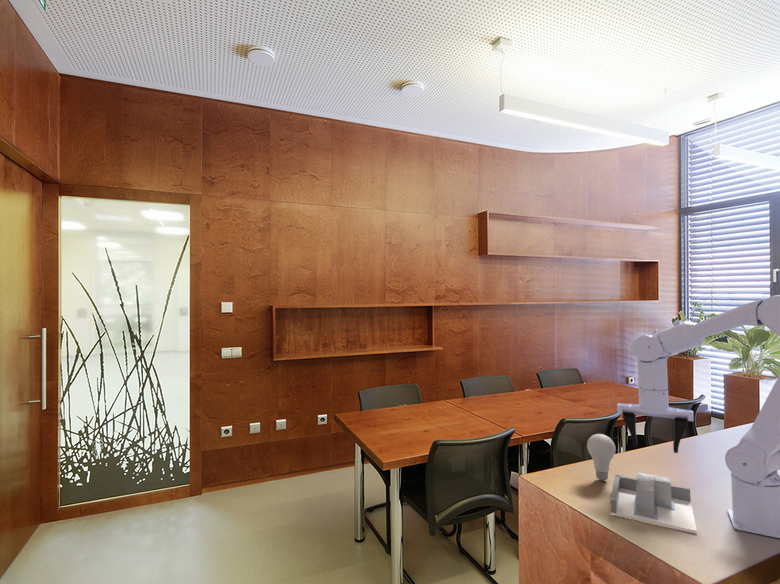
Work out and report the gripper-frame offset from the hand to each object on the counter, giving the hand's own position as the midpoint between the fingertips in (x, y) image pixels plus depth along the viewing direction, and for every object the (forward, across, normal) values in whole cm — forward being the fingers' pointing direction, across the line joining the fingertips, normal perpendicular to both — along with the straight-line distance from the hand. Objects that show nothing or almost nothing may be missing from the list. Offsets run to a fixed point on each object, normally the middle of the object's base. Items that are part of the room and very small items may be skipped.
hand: (655, 448), depth 95 cm
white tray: (+9, +1, +10) cm, 14 cm away
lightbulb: (+10, +11, 0) cm, 15 cm away
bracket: (+9, 0, +11) cm, 14 cm away
